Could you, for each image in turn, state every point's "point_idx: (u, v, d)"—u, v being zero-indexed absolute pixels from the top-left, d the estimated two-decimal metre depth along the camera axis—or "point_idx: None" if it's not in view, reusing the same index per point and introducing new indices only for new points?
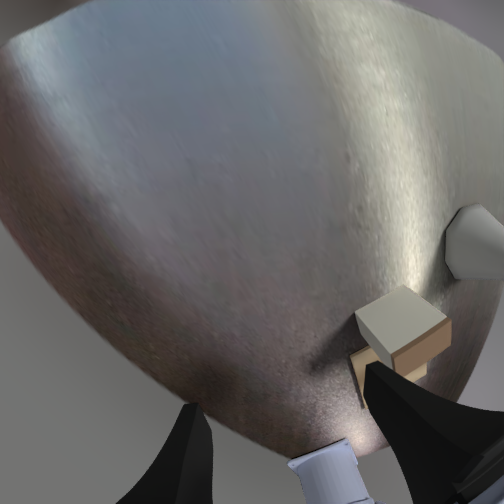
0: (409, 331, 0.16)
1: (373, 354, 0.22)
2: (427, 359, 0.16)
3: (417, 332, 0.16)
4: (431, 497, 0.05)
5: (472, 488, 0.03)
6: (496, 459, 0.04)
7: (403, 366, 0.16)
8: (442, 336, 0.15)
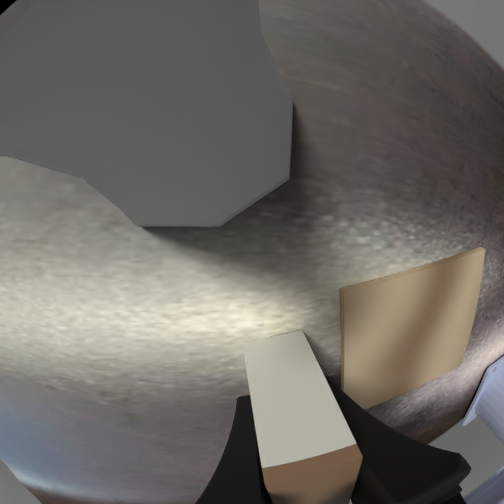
0: None
1: (360, 388, 0.12)
2: (348, 489, 0.06)
3: None
4: None
5: None
6: (441, 499, 0.04)
7: None
8: (304, 486, 0.05)
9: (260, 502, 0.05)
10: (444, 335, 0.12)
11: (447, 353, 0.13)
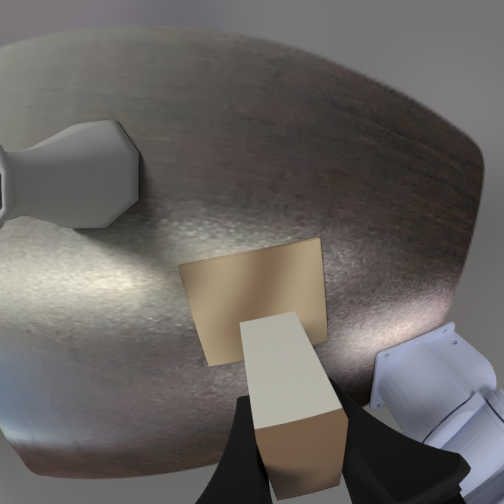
0: None
1: (214, 342, 0.19)
2: (338, 459, 0.07)
3: None
4: None
5: None
6: (440, 499, 0.04)
7: (310, 488, 0.07)
8: (295, 450, 0.06)
9: (260, 502, 0.05)
10: (288, 310, 0.19)
11: None
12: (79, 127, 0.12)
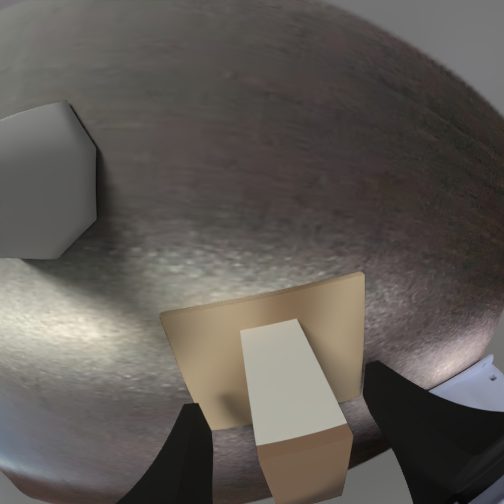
0: None
1: (214, 407, 0.13)
2: (341, 472, 0.06)
3: None
4: (431, 497, 0.05)
5: (472, 488, 0.03)
6: (496, 459, 0.04)
7: (312, 499, 0.07)
8: (297, 466, 0.06)
9: None
10: None
11: None
12: (12, 115, 0.06)
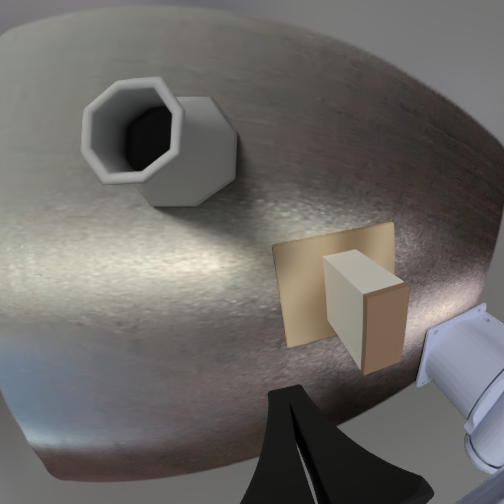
0: (355, 332, 0.14)
1: (297, 322, 0.20)
2: (403, 325, 0.13)
3: (359, 332, 0.14)
4: None
5: None
6: None
7: (385, 359, 0.14)
8: (384, 309, 0.13)
9: (310, 492, 0.05)
10: None
11: None
12: (181, 98, 0.13)
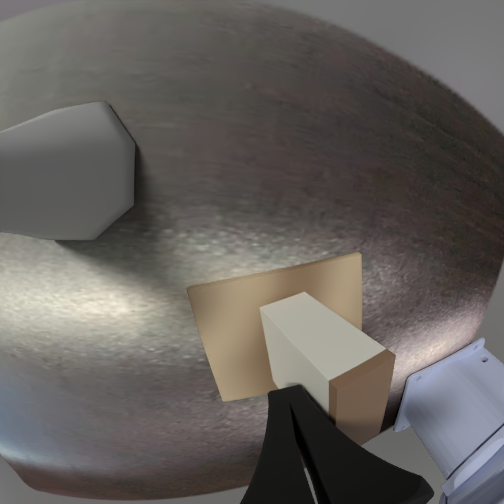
0: None
1: (230, 376, 0.15)
2: (384, 400, 0.09)
3: None
4: None
5: None
6: None
7: (360, 439, 0.09)
8: (360, 393, 0.08)
9: (310, 492, 0.05)
10: None
11: None
12: (58, 111, 0.09)
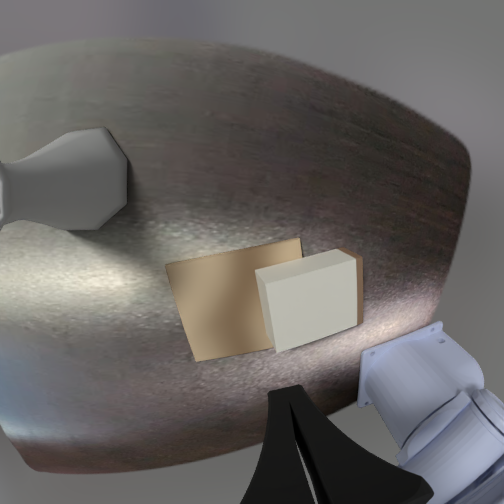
0: (345, 303, 0.18)
1: (200, 338, 0.20)
2: None
3: (352, 296, 0.18)
4: None
5: None
6: None
7: None
8: None
9: (310, 492, 0.05)
10: None
11: None
12: (71, 136, 0.13)
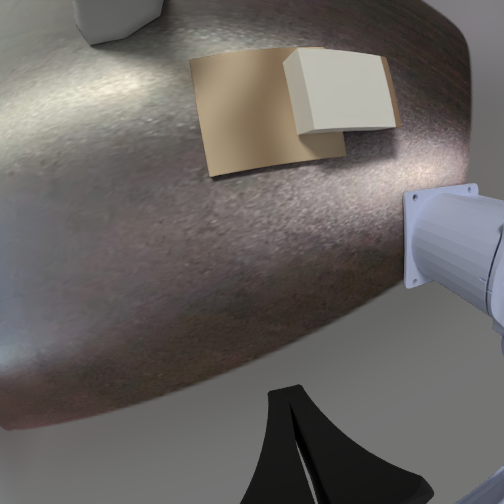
0: (379, 95, 0.14)
1: (219, 141, 0.16)
2: None
3: (384, 90, 0.14)
4: None
5: None
6: None
7: None
8: None
9: (310, 492, 0.05)
10: None
11: None
12: None
